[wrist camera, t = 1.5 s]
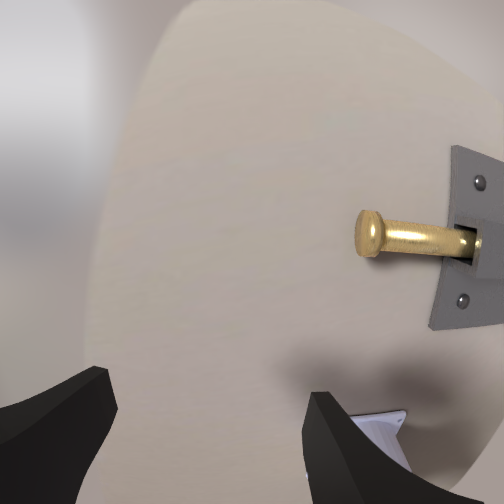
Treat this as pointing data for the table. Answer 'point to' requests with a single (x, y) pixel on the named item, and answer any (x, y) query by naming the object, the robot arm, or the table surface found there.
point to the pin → (410, 237)
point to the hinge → (486, 248)
